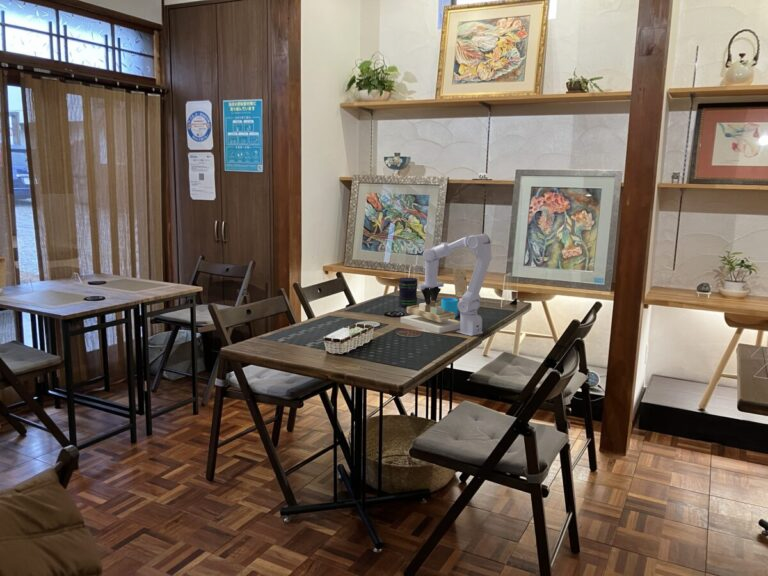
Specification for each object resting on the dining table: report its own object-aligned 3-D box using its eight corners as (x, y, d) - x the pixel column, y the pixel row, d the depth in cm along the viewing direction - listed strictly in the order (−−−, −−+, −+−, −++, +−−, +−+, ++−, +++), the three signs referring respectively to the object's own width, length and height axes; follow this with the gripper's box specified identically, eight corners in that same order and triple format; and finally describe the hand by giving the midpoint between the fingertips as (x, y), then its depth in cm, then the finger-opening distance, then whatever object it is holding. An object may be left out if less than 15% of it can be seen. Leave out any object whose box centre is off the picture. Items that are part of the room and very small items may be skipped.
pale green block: (442, 313, 284) (442, 307, 283) (436, 314, 281) (436, 308, 281) (436, 311, 287) (436, 305, 286) (430, 313, 284) (430, 306, 284)
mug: (452, 318, 304) (453, 301, 303) (438, 316, 309) (438, 299, 307) (463, 313, 314) (464, 298, 313) (449, 311, 319) (449, 296, 317)
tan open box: (455, 319, 283) (455, 304, 281) (439, 322, 276) (440, 306, 275) (421, 309, 299) (422, 295, 298) (406, 312, 293) (406, 298, 291)
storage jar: (394, 306, 331) (394, 278, 328) (407, 304, 337) (408, 276, 334) (407, 309, 323) (408, 281, 321) (421, 307, 330) (421, 279, 327)
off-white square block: (431, 310, 290) (431, 304, 289) (424, 311, 287) (425, 305, 287) (425, 308, 293) (425, 302, 292) (419, 309, 290) (419, 303, 290)
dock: (464, 327, 285) (464, 322, 284) (439, 333, 275) (439, 327, 274) (425, 317, 304) (425, 312, 304) (400, 322, 294) (400, 316, 294)
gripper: (436, 272, 292) (435, 300, 294) (413, 274, 283) (413, 304, 285) (447, 273, 287) (446, 302, 289) (424, 276, 277) (423, 306, 280)
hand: (430, 303), depth 287 cm, fingers closed on tan open box, 3 cm apart
